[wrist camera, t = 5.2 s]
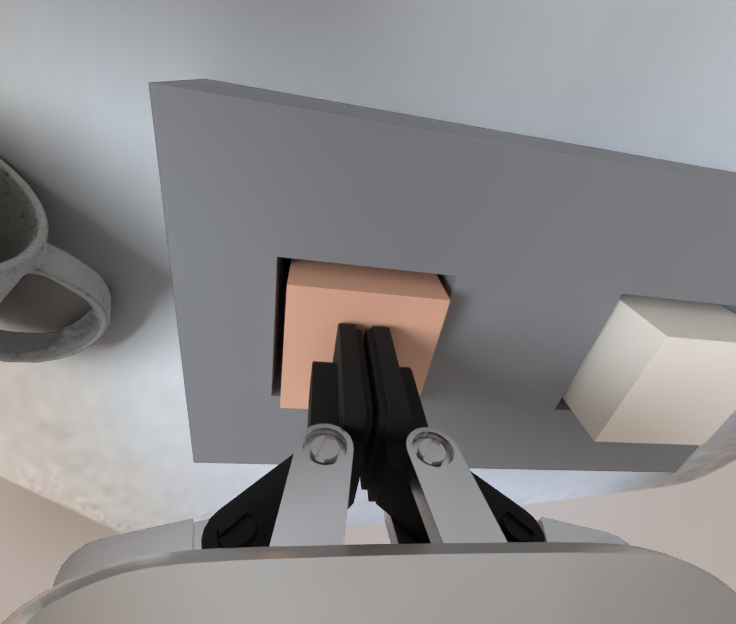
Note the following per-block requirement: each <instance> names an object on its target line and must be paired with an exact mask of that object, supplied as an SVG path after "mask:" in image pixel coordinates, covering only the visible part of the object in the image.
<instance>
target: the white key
mask: <svg viewBox="0 0 736 624" xmlns="http://www.w3.org/2000/svg"><path fill="white" fill-rule="evenodd" d="M562 398H563V399H564V400H565V402H566V403H567V404H568V406H569V407H570V409H571V410H572V411H573V413H574V414H575V415H576V417H577V418H578V420H579V421H580V422H581V424H582V425H583V426H584V428H585V429H586V431H587V432H588V433H589V435H590V436H591V437H592V439H593V440H594V442H623V443H652V444H681V445H704V444H705V443H706V442H707V440H708V439H709V438H710V437H711V436H712V435H713V434H714V433H715V432H716V431H717V430H718V429H719V427H720V426H721V425H722V424H723V423H724V422H725V421H726V420H727V419H728V418H729V417H730V416H731V415H732V413H733V412H734V411H735V410H736V314H735V313H733V312H732V311H730V310H728V309H727V308H725V307H723V306H722V305H720V304H712V303H703V302H694V301H684V300H675V299H666V298H656V297H647V296H638V295H628V294H621V296H620V298H619V299H618V301H617V303H616V305H615V306H614V308H613V310H612V311H611V313H610V315H609V317H608V318H607V320H606V322H605V324H604V325H603V327H602V329H601V330H600V332H599V334H598V336H597V337H596V339H595V341H594V343H593V344H592V346H591V348H590V349H589V351H588V353H587V355H586V356H585V358H584V360H583V362H582V363H581V365H580V367H579V368H578V370H577V372H576V374H575V375H574V377H573V379H572V381H571V382H570V384H569V386H568V387H567V389H566V391H565V393H564V394H563V396H562Z"/></svg>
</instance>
